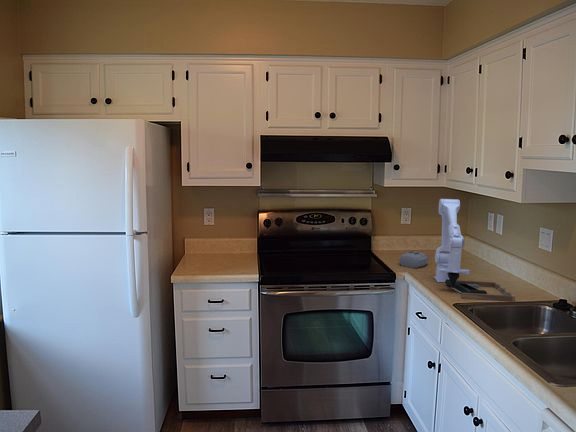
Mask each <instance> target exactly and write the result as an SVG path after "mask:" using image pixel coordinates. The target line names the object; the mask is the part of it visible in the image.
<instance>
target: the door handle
mask: <svg viewBox="0 0 576 432" xmlns="http://www.w3.org/2000/svg"><path fill="white" fill-rule="evenodd" d="M444 283H445V284H446V285H447V286H449V287H450V289H452V290H453V291H456V292H458V293H460V294H461V293H477V294H488V292H487V291H486V290H484V289H479V288H480V286H479V285H477V284H465V283H463V282H456V283H455V285H454V288H451V285H450V280H448V279H447V280H446V281H445V282H444Z"/></svg>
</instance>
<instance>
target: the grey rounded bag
mask: <svg viewBox="0 0 576 432" xmlns="http://www.w3.org/2000/svg"><path fill="white" fill-rule="evenodd" d="M398 261H399V265H401V266H402V267H406V268H410V269H417V268H418V269H419V268H423V267H425V266H426V265H427V264H428V263H429V261H430V259H429V256H428V255H427V254H426V253H424V252H419V251H408V252H406V253H403V254H401V255H400V257H399V260H398Z"/></svg>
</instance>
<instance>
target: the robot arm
mask: <svg viewBox="0 0 576 432" xmlns="http://www.w3.org/2000/svg"><path fill="white" fill-rule="evenodd" d="M438 201H439V202H438V215H440V216H441V245H440V246H439V247H438V248H436V250H435V254H434V261H435V263H436V268H435V275H434V276H433V278H434V280H435V281H437V283H445V281H446V280H447V279H448V280H450V285H451V287H450V289H451V288H454V285H455V283H456V281H457V280H459V277H460V274H461V275H470V269H465V268H461V262H462V261H461V260H462V249H464V246H465V238H464V236H463V235H462V232H461V226H460V225H459V224H458V217H457V216H458V215H457V214H458V213H459V211H460V208H461V202H460V199H453V198H440V199H439V200H438Z"/></svg>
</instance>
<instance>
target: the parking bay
mask: <svg viewBox="0 0 576 432" xmlns="http://www.w3.org/2000/svg"><path fill="white" fill-rule="evenodd" d="M456 282H463V283H465V284H477V285H479V288H480V287H483V288H495V289H496V290H497V291H498V292H500V293H501V294H491V293H487V294H477V293H460V298H461V299H465V300H466V299H467V300H484V301H485V300H486V301H500V302H501V301H502V302H516V296H515V295H514V294H513V293H511V292H510V291H509V290H507V289H506V288H505V287H504V286H502V285H501V284H500V283H499V282H495V281H481V280H463V279H457V281H456Z"/></svg>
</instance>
